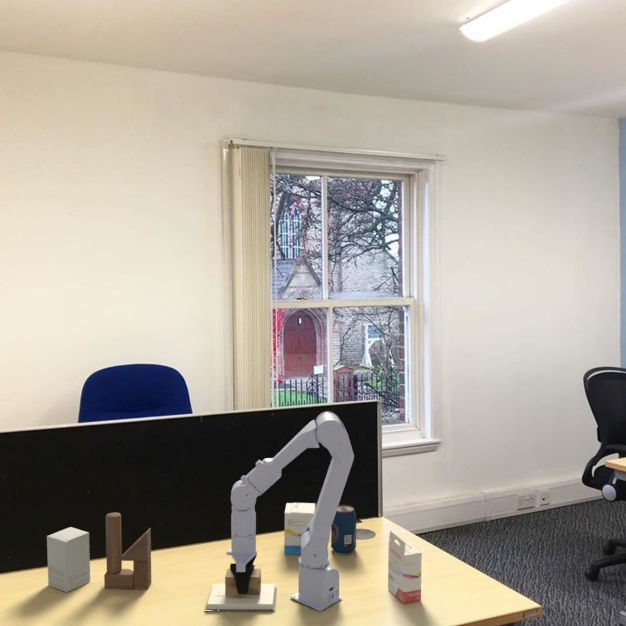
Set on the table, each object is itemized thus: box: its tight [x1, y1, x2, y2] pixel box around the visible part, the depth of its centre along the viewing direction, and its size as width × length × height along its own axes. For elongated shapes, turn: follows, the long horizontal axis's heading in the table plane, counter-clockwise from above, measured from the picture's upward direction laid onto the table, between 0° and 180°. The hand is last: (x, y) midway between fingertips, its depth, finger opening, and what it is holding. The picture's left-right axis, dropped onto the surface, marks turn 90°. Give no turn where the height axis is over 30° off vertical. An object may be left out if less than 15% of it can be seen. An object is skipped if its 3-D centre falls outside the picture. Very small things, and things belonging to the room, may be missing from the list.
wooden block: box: [103, 511, 152, 590], centre depth 170 cm, size 4×11×18 cm, turn 88°
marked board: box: [204, 583, 278, 613], centre depth 163 cm, size 16×11×2 cm
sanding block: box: [224, 568, 262, 598], centre depth 163 cm, size 8×4×5 cm, turn 90°
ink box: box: [283, 502, 316, 555], centre depth 193 cm, size 9×8×12 cm
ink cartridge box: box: [387, 530, 423, 604], centre depth 166 cm, size 9×5×15 cm, turn 21°
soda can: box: [330, 504, 357, 556], centre depth 191 cm, size 7×7×12 cm
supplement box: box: [46, 526, 91, 593], centre depth 171 cm, size 7×7×13 cm
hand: (243, 588), depth 163 cm, fingers closed on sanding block, 4 cm apart
